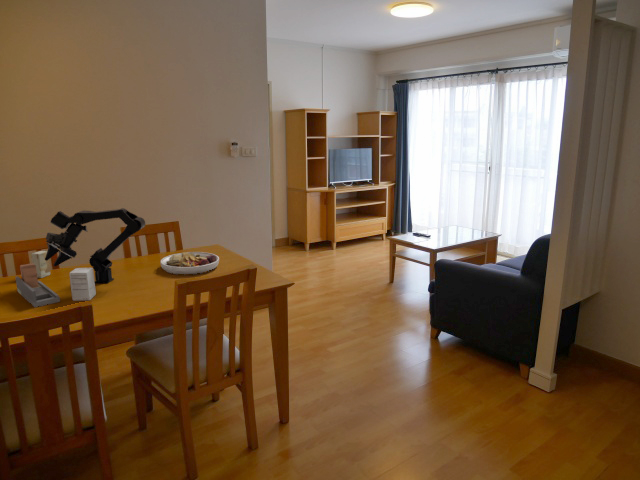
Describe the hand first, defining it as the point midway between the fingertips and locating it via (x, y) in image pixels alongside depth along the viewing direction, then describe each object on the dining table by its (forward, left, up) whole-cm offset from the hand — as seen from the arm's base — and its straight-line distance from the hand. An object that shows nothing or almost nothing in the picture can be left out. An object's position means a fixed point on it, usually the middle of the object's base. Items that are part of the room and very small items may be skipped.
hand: (49, 263), depth 211 cm
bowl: (-52, -38, -12) cm, 65 cm away
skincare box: (+15, -15, -12) cm, 24 cm away
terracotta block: (+6, +6, -9) cm, 13 cm away
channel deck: (-2, +12, -11) cm, 17 cm away
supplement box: (-22, +11, -12) cm, 27 cm away
